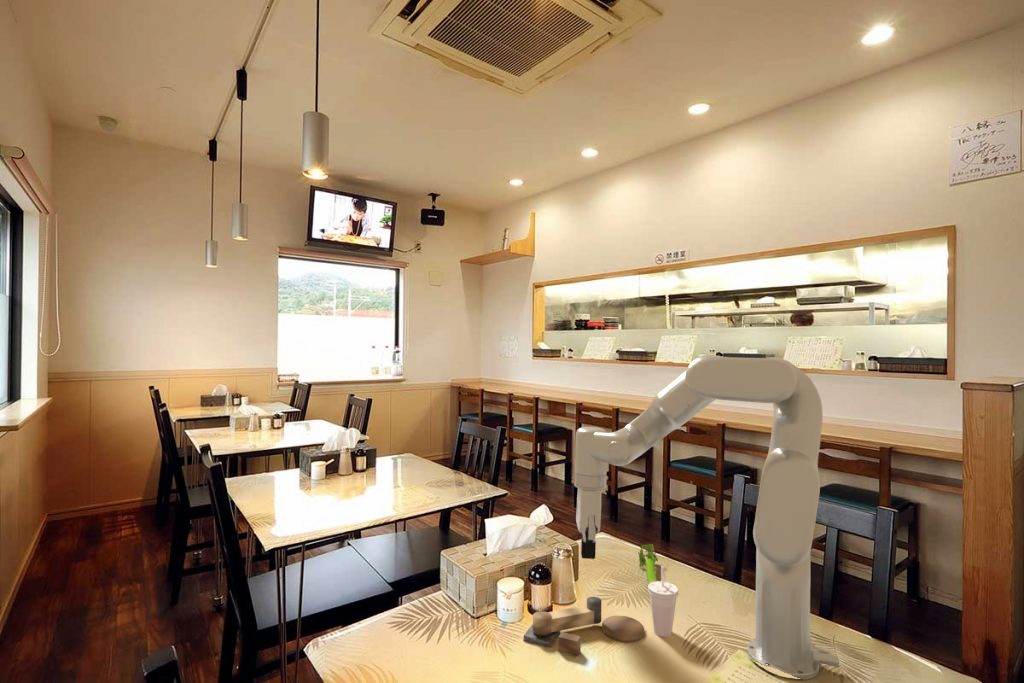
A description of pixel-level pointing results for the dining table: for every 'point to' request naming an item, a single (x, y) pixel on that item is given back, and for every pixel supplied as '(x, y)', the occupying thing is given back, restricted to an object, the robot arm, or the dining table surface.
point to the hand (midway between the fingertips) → (588, 557)
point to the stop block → (569, 644)
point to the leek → (648, 562)
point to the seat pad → (623, 628)
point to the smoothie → (662, 605)
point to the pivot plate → (540, 637)
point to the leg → (567, 617)
